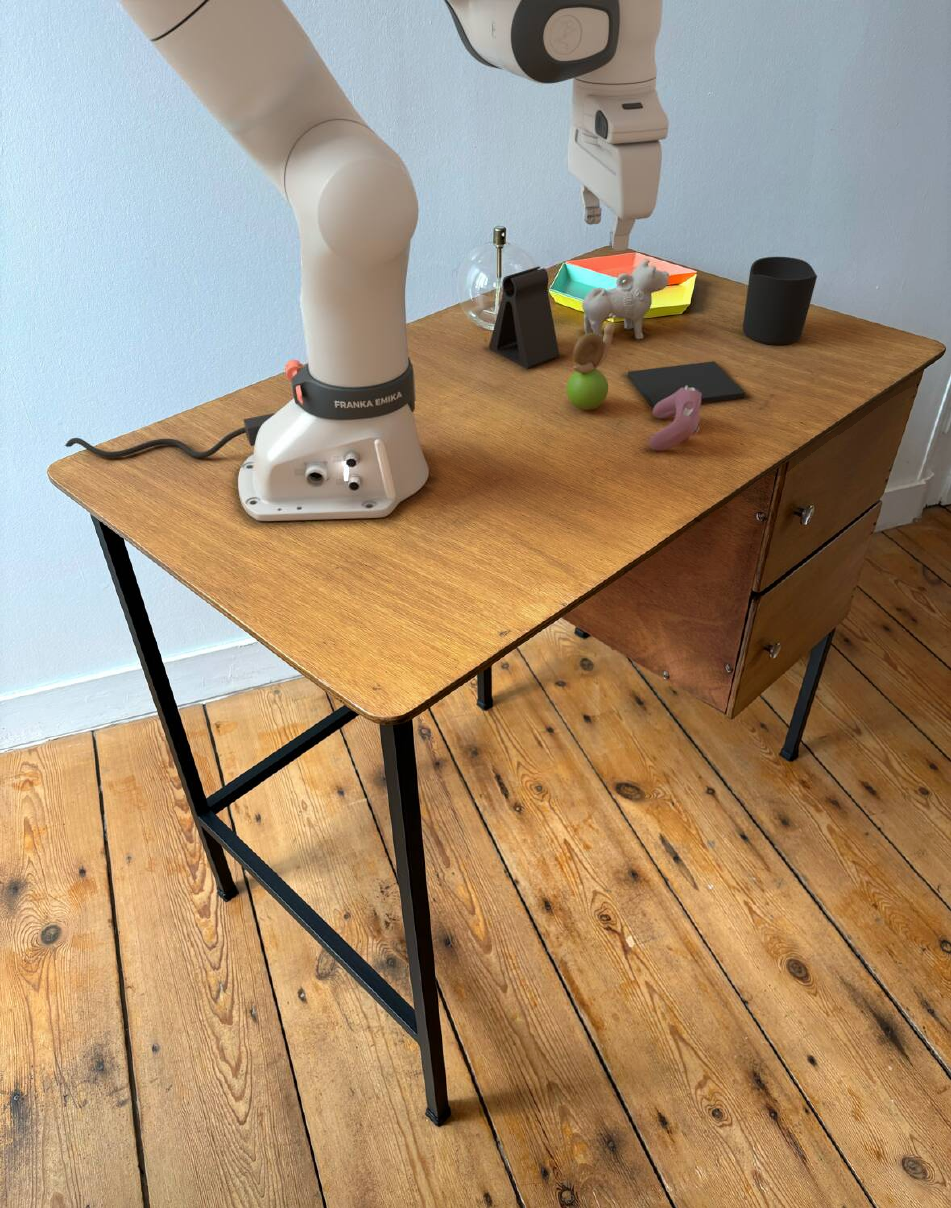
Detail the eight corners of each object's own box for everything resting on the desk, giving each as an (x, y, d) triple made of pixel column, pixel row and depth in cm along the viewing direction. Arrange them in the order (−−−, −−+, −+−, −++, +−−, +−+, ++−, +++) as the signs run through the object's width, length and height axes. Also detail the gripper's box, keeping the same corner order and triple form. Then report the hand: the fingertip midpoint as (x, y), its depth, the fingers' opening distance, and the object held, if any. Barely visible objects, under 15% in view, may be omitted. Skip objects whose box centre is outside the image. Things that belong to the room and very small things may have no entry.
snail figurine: (620, 407, 127) (628, 320, 119) (583, 421, 124) (589, 333, 117) (594, 392, 131) (600, 306, 123) (557, 405, 128) (561, 318, 120)
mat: (653, 409, 127) (654, 404, 126) (627, 376, 134) (627, 371, 134) (744, 397, 129) (745, 392, 128) (713, 366, 136) (714, 361, 136)
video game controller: (676, 466, 118) (709, 423, 114) (644, 448, 118) (676, 404, 113) (679, 427, 126) (710, 385, 121) (649, 410, 125) (679, 368, 121)
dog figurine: (668, 335, 145) (677, 265, 138) (589, 346, 142) (594, 275, 135) (653, 321, 149) (661, 252, 142) (576, 331, 146) (580, 262, 139)
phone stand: (488, 348, 142) (488, 267, 134) (520, 337, 145) (521, 258, 137) (527, 369, 136) (529, 286, 129) (559, 358, 139) (563, 276, 131)
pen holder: (815, 333, 145) (830, 267, 138) (783, 352, 139) (797, 285, 133) (760, 316, 150) (772, 251, 143) (727, 334, 144) (738, 268, 138)
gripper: (556, 87, 111) (553, 210, 120) (616, 130, 96) (607, 268, 104) (608, 83, 112) (601, 205, 121) (676, 125, 97) (662, 262, 105)
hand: (604, 235), depth 112 cm, fingers open, 8 cm apart
